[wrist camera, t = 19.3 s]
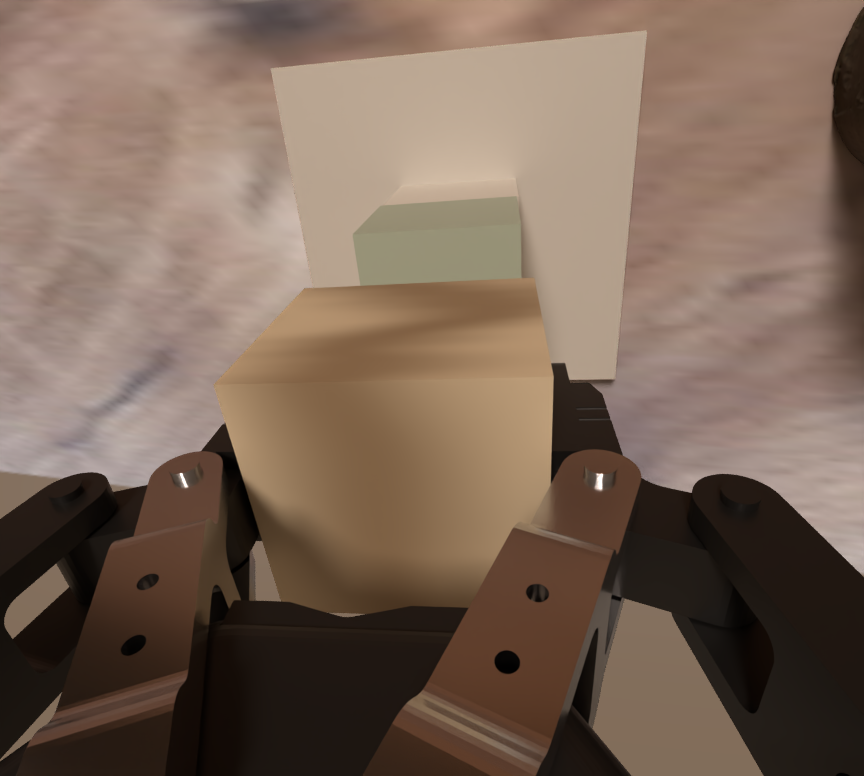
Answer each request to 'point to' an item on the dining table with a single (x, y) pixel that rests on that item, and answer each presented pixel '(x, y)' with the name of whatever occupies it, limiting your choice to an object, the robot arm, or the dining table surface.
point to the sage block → (440, 242)
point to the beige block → (454, 191)
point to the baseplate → (483, 162)
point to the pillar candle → (851, 90)
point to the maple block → (393, 438)
